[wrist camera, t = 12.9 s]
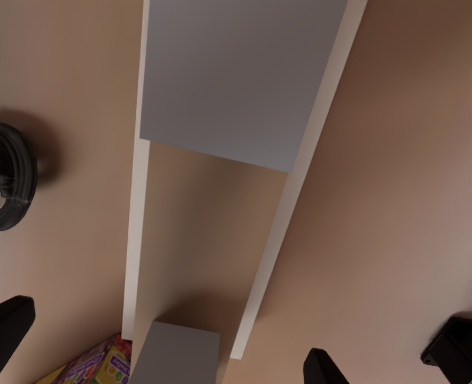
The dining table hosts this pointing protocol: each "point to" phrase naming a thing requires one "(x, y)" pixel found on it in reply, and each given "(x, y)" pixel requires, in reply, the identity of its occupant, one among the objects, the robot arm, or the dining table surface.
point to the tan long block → (201, 242)
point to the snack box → (96, 365)
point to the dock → (289, 194)
